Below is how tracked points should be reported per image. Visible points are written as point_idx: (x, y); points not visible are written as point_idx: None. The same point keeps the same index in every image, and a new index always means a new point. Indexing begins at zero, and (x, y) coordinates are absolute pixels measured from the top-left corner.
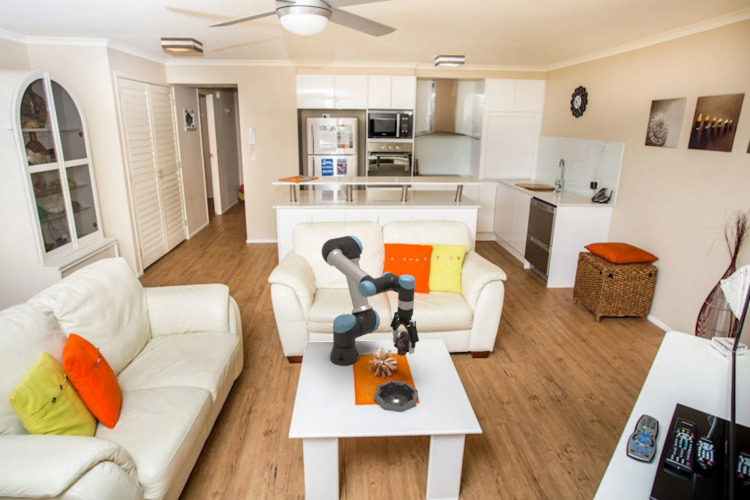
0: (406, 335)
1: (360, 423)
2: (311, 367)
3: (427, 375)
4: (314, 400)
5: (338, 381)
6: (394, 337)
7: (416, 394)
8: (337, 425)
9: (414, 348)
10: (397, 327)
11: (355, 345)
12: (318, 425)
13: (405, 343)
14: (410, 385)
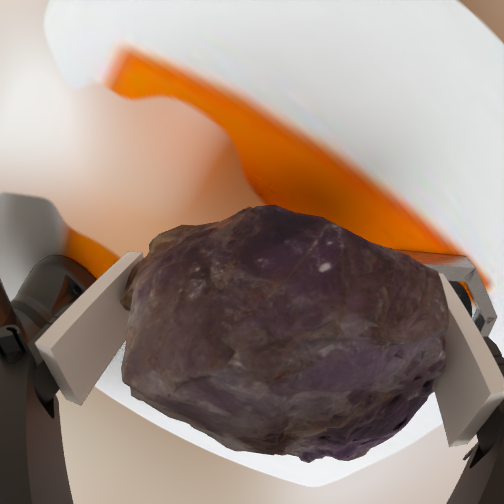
0: (287, 410)
1: (396, 438)
2: (103, 387)
3: (388, 81)
4: (247, 453)
5: None
6: (122, 337)
7: (483, 291)
8: (359, 461)
9: (463, 305)
10: (39, 410)
11: (45, 309)
12: (329, 474)
13: (386, 428)
14: (430, 267)
